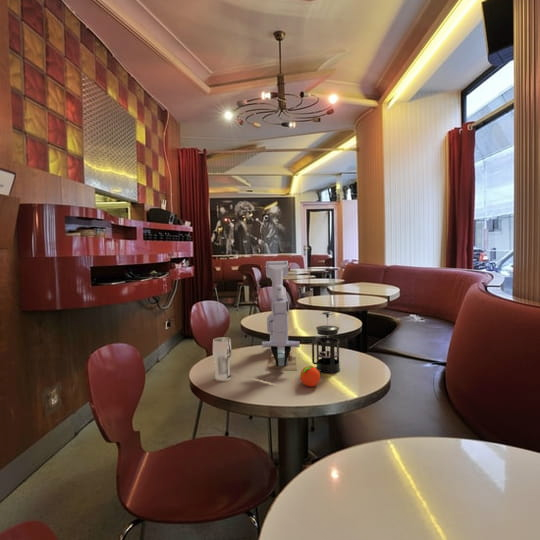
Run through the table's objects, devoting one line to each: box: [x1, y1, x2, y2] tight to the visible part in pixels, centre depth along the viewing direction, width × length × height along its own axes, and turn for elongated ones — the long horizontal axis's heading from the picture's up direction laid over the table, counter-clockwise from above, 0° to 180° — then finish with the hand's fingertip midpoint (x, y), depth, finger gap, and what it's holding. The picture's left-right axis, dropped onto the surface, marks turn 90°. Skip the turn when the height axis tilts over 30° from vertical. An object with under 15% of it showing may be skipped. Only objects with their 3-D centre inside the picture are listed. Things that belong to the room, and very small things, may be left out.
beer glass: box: [212, 336, 232, 382], centre depth 136 cm, size 7×7×15 cm
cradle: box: [265, 352, 298, 372], centre depth 151 cm, size 18×12×3 cm, turn 177°
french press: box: [311, 311, 341, 375], centre depth 143 cm, size 12×9×23 cm
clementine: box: [299, 365, 321, 387], centre depth 127 cm, size 8×7×7 cm
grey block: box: [275, 350, 288, 367], centre depth 146 cm, size 5×10×5 cm, turn 177°
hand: (281, 365), depth 141 cm, fingers closed on grey block, 2 cm apart
